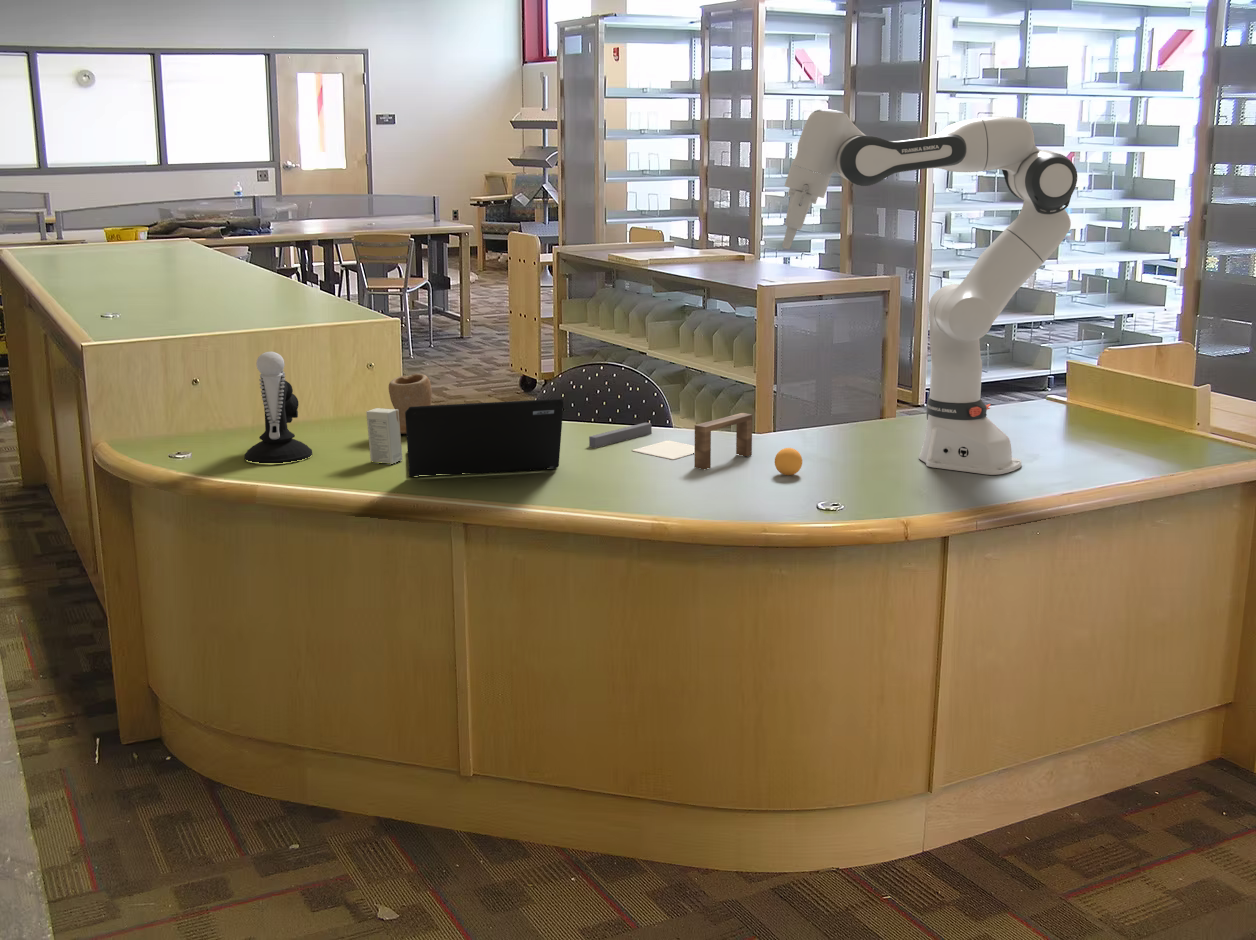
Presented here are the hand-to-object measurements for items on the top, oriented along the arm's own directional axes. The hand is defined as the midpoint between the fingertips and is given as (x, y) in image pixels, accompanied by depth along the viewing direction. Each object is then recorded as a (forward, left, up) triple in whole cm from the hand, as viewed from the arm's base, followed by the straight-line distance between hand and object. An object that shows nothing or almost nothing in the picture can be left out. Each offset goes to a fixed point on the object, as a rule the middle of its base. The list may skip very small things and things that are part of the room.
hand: (785, 247), depth 273 cm
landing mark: (+27, +7, -48) cm, 56 cm away
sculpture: (+95, +69, -48) cm, 127 cm away
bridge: (+11, +7, -48) cm, 50 cm away
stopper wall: (+43, +7, -48) cm, 65 cm away
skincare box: (+69, +58, -48) cm, 102 cm away
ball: (-7, +7, -45) cm, 46 cm away
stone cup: (+86, +35, -49) cm, 105 cm away
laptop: (+48, +47, -49) cm, 83 cm away
